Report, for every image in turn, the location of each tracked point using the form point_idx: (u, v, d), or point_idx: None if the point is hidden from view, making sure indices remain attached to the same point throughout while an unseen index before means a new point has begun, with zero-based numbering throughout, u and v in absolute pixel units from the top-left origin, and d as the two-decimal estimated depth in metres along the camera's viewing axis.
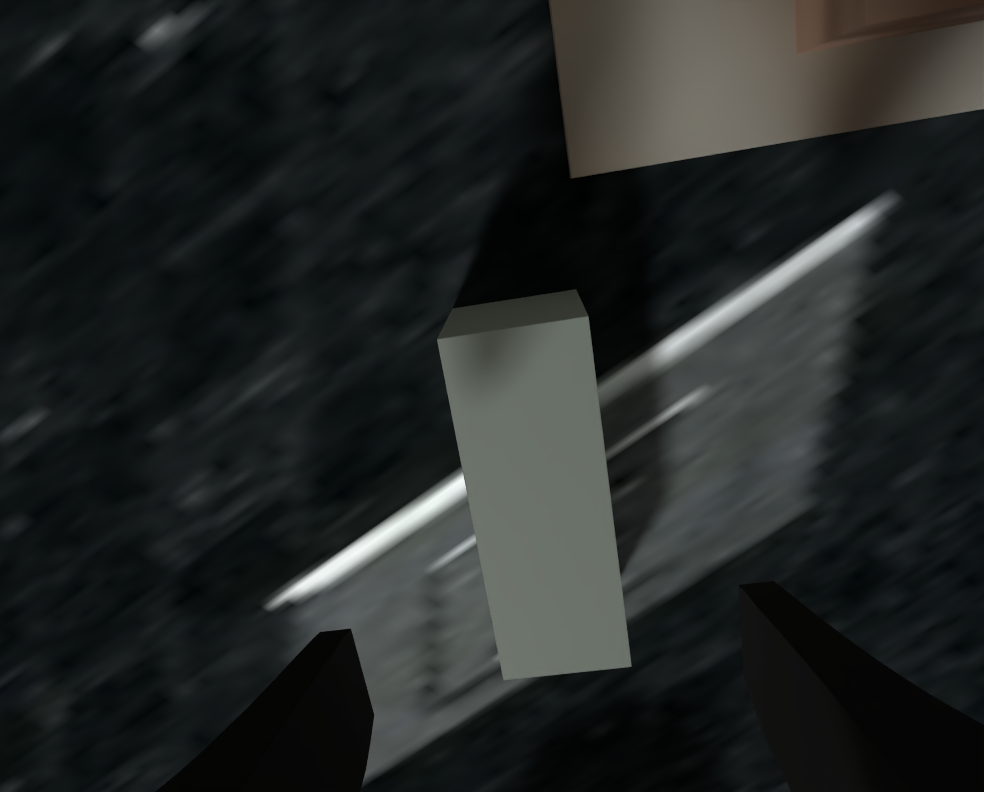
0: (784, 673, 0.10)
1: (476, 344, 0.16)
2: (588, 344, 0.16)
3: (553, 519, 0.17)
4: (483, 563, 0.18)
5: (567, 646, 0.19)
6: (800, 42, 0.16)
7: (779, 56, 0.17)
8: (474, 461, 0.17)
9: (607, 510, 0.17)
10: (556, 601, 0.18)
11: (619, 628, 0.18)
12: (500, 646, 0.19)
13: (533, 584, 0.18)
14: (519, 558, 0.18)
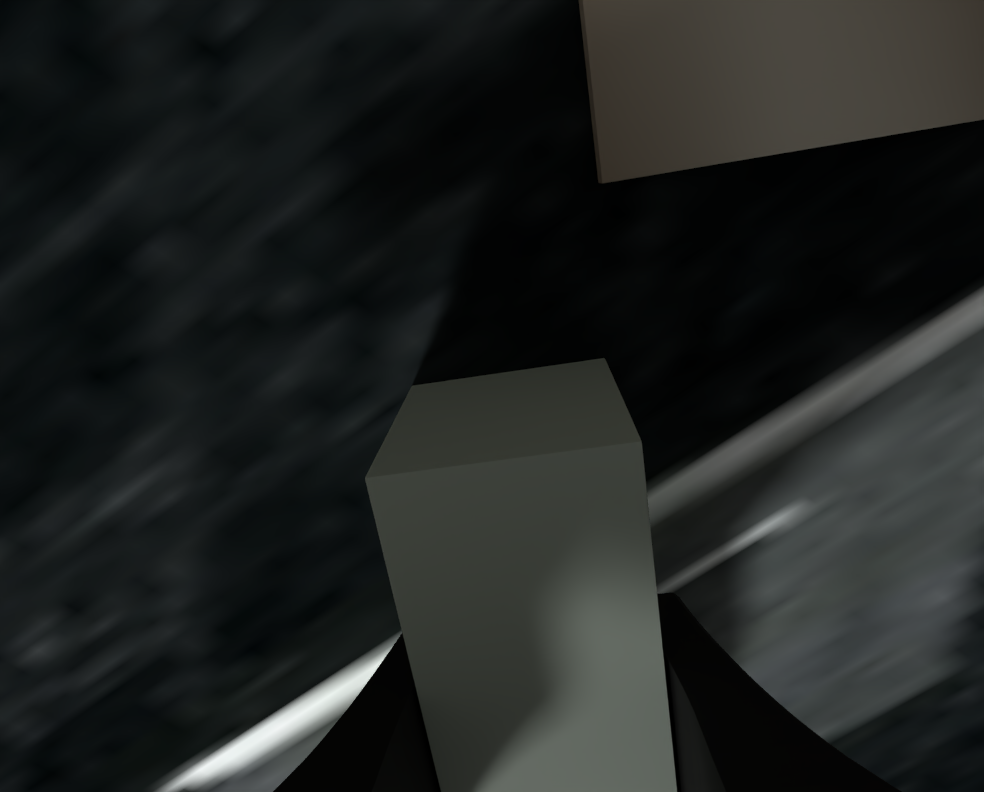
0: (666, 685, 0.10)
1: (436, 487, 0.09)
2: (640, 490, 0.09)
3: (573, 766, 0.10)
4: None
5: None
6: None
7: None
8: (436, 676, 0.10)
9: (665, 754, 0.10)
10: None
11: None
12: None
13: None
14: None
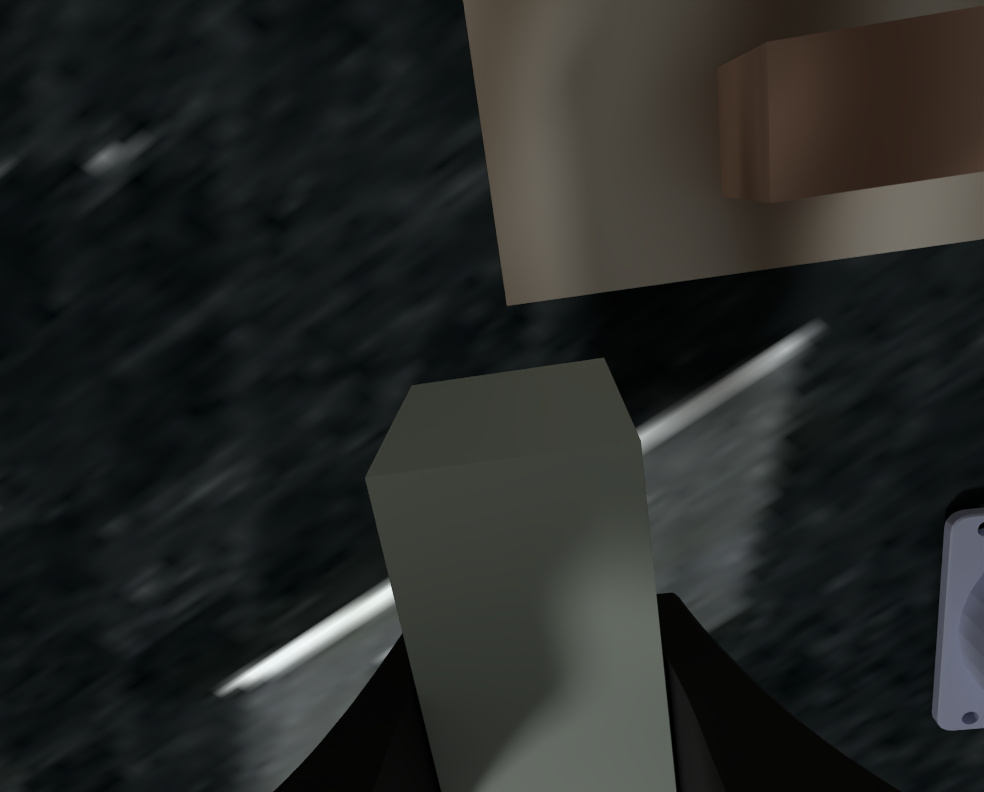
0: (666, 685, 0.10)
1: (435, 487, 0.09)
2: (639, 489, 0.09)
3: (572, 765, 0.10)
4: None
5: None
6: (724, 188, 0.17)
7: (705, 198, 0.17)
8: (435, 676, 0.10)
9: (664, 753, 0.10)
10: None
11: None
12: None
13: None
14: None
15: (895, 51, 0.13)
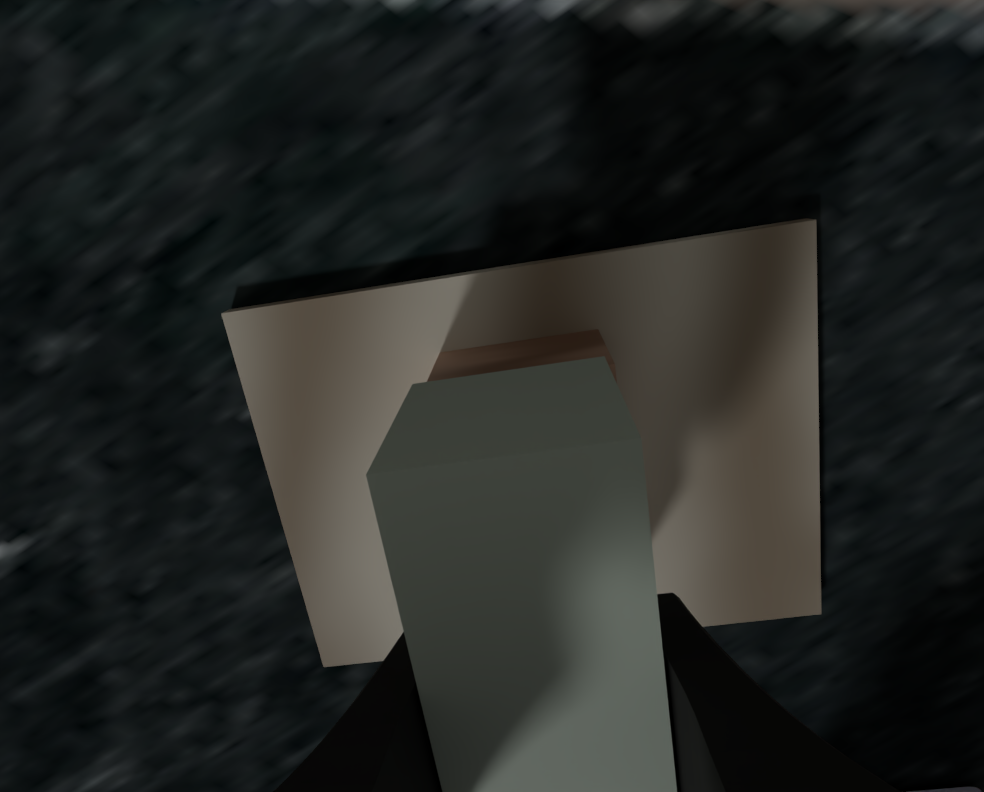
0: (666, 685, 0.10)
1: (436, 483, 0.09)
2: (640, 486, 0.09)
3: (573, 762, 0.10)
4: None
5: None
6: None
7: None
8: (436, 673, 0.10)
9: (664, 750, 0.10)
10: None
11: None
12: None
13: None
14: None
15: None
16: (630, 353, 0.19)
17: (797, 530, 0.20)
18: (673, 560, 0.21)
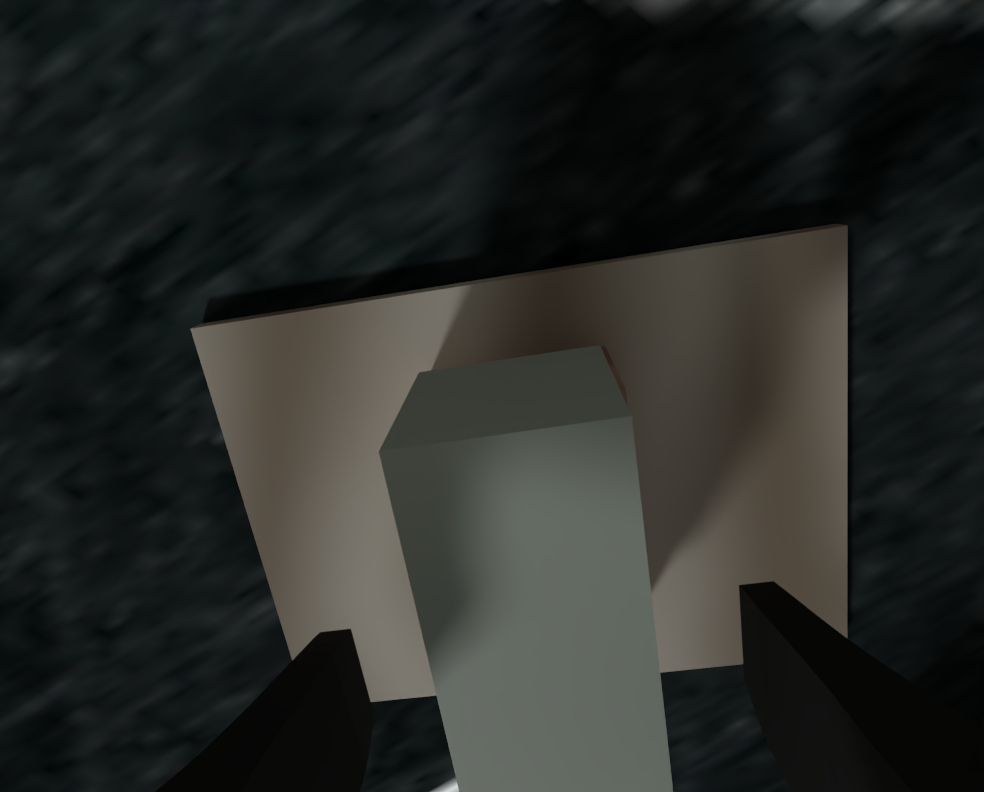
0: (783, 673, 0.10)
1: (443, 459, 0.10)
2: (631, 461, 0.10)
3: (572, 721, 0.11)
4: (461, 782, 0.12)
5: None
6: None
7: None
8: (443, 637, 0.11)
9: (656, 709, 0.11)
10: None
11: None
12: None
13: None
14: (517, 774, 0.11)
15: None
16: (640, 372, 0.17)
17: (822, 564, 0.18)
18: (686, 595, 0.19)
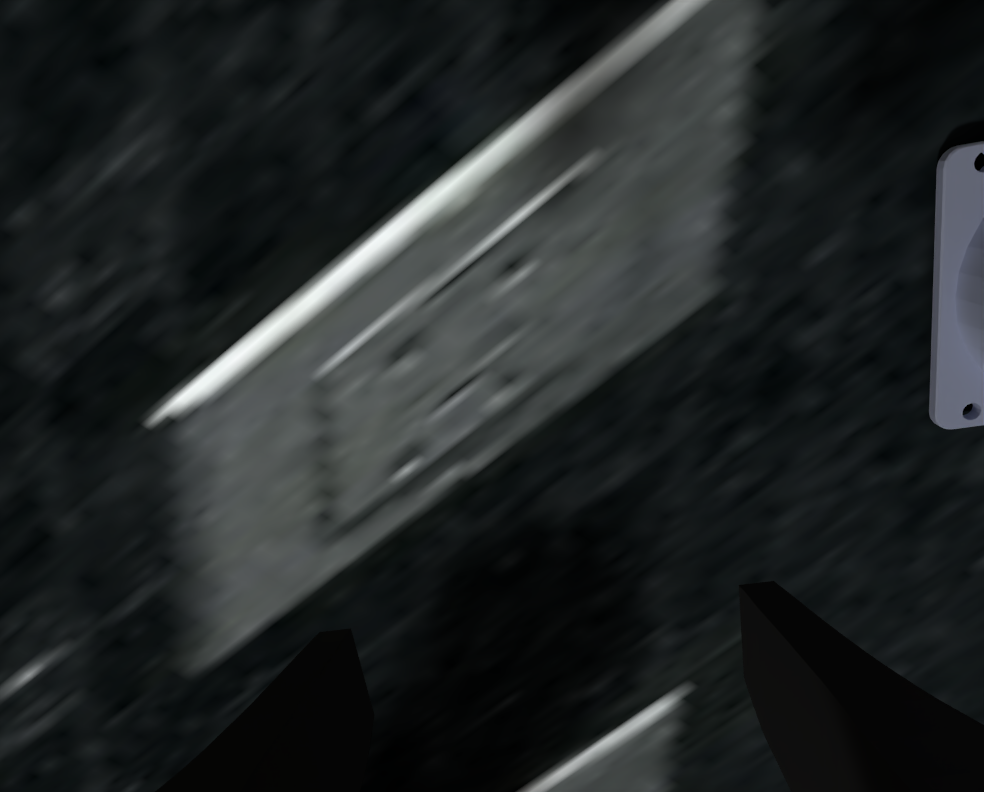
0: (784, 674, 0.10)
1: None
2: None
3: None
4: None
5: None
6: None
7: None
8: None
9: None
10: None
11: None
12: None
13: None
14: None
15: None
16: None
17: None
18: None
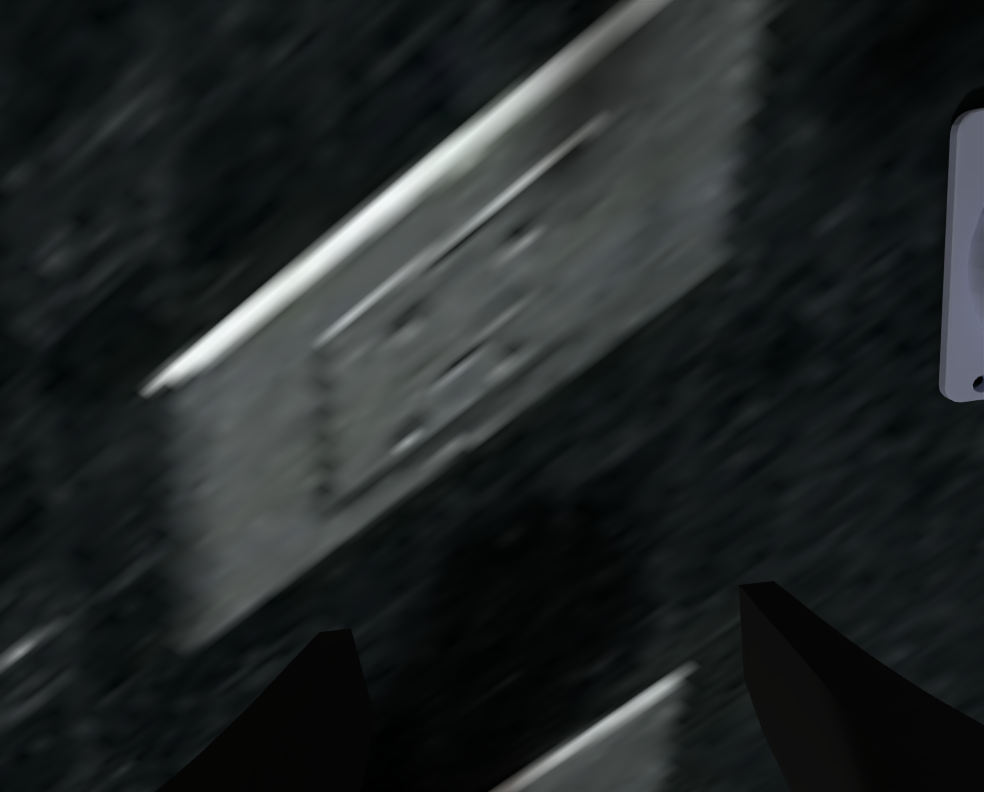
0: (784, 674, 0.10)
1: None
2: None
3: None
4: None
5: None
6: None
7: None
8: None
9: None
10: None
11: None
12: None
13: None
14: None
15: None
16: None
17: None
18: None
